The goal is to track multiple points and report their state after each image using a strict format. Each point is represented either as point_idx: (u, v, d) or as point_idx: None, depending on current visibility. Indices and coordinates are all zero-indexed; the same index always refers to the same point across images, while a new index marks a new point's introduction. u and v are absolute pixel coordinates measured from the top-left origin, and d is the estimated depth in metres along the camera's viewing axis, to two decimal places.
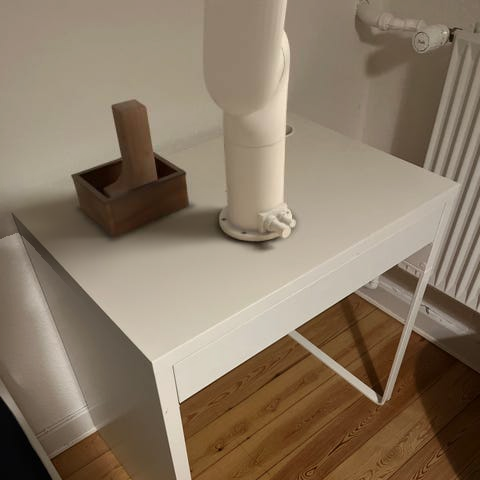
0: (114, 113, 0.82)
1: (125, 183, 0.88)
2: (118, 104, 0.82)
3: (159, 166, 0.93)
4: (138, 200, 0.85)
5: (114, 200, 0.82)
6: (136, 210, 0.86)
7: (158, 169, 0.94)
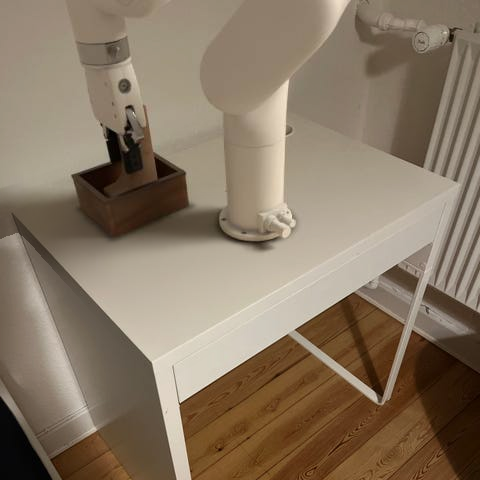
0: None
1: (125, 182, 0.88)
2: None
3: (159, 166, 0.93)
4: (138, 200, 0.85)
5: (114, 200, 0.82)
6: (136, 210, 0.86)
7: (158, 169, 0.94)
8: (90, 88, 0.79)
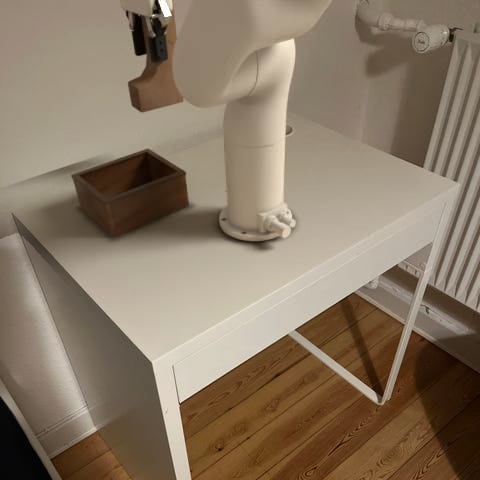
0: None
1: (149, 75, 0.90)
2: None
3: (159, 166, 0.93)
4: (138, 200, 0.85)
5: (114, 200, 0.82)
6: (136, 210, 0.86)
7: (158, 169, 0.94)
8: None
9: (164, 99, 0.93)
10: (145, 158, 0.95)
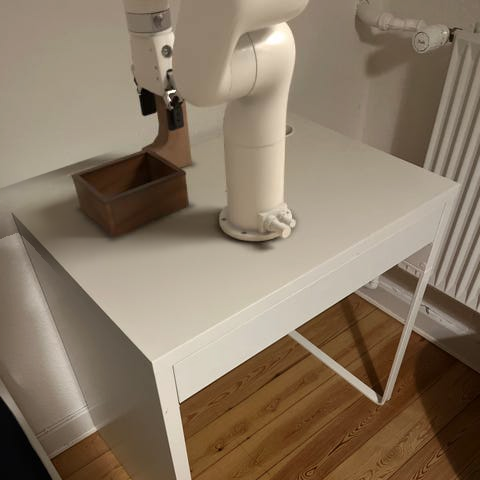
0: None
1: (161, 143, 1.00)
2: None
3: (159, 166, 0.93)
4: (138, 200, 0.85)
5: (114, 200, 0.82)
6: (136, 210, 0.86)
7: (158, 169, 0.94)
8: (135, 55, 0.90)
9: (174, 163, 1.02)
10: (145, 158, 0.95)
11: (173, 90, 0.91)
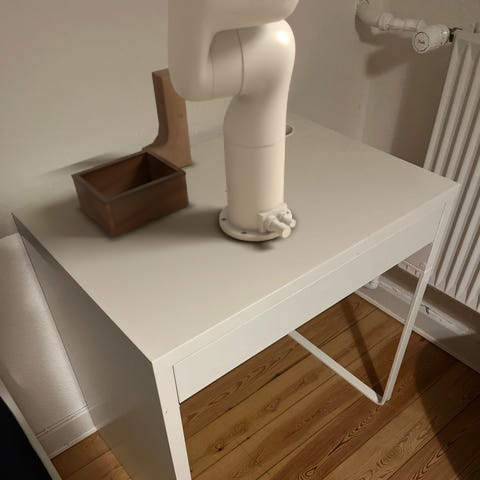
0: (154, 79, 0.94)
1: (161, 143, 1.00)
2: (158, 71, 0.93)
3: (159, 166, 0.93)
4: (138, 200, 0.85)
5: (114, 200, 0.82)
6: (136, 210, 0.86)
7: (158, 169, 0.94)
8: None
9: (174, 163, 1.02)
10: (145, 158, 0.95)
11: None
